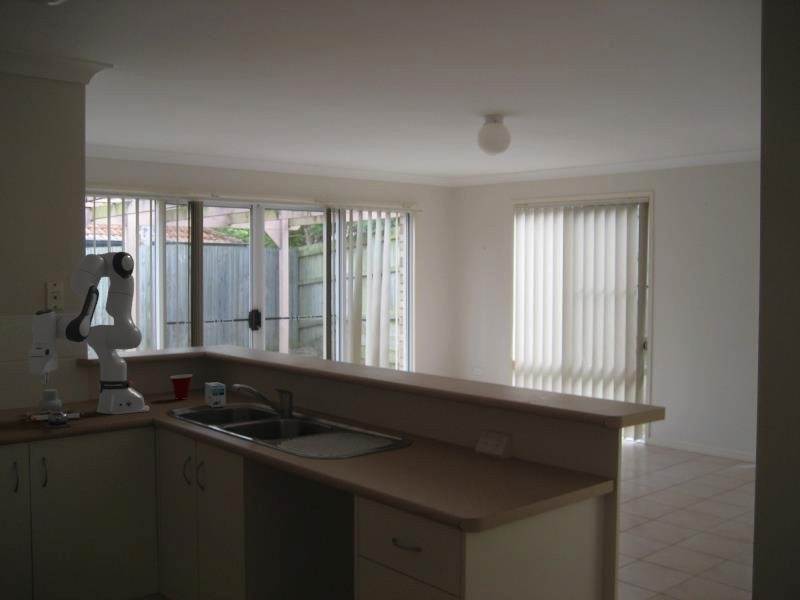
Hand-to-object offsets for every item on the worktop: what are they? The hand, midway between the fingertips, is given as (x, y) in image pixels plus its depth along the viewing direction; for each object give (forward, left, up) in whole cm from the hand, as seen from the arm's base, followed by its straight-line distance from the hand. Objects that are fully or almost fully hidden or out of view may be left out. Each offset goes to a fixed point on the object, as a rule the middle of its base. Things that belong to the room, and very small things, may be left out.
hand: (44, 383), depth 309 cm
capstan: (-5, +4, -16) cm, 17 cm away
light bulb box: (-73, -22, -17) cm, 78 cm away
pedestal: (-5, +4, -17) cm, 18 cm away
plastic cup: (-61, -47, -17) cm, 79 cm away
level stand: (-4, -14, -17) cm, 22 cm away
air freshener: (-2, -30, -17) cm, 34 cm away
